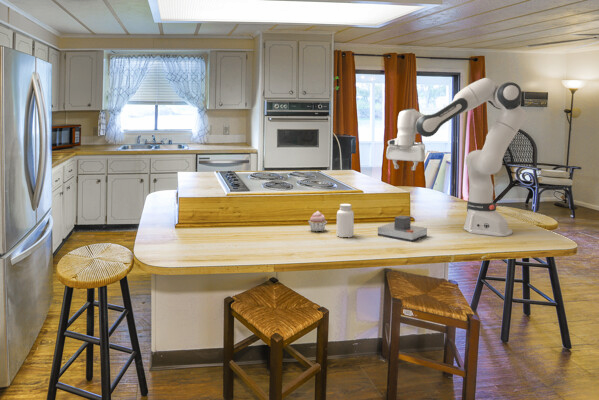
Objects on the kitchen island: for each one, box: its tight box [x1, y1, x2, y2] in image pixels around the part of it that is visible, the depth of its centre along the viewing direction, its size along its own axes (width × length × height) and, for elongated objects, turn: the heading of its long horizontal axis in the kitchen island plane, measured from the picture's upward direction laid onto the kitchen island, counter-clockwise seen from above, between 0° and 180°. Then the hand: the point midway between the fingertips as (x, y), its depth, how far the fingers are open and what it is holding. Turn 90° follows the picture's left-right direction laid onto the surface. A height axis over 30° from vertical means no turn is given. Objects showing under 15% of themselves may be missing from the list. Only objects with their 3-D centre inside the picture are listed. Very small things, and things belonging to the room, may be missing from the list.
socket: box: [377, 221, 428, 243], centre depth 228 cm, size 18×14×5 cm
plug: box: [394, 215, 412, 230], centre depth 227 cm, size 5×6×8 cm
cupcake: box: [307, 210, 328, 232], centre depth 237 cm, size 9×9×10 cm
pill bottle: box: [336, 203, 355, 238], centre depth 227 cm, size 8×8×15 cm
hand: (404, 169), depth 243 cm, fingers open, 8 cm apart
